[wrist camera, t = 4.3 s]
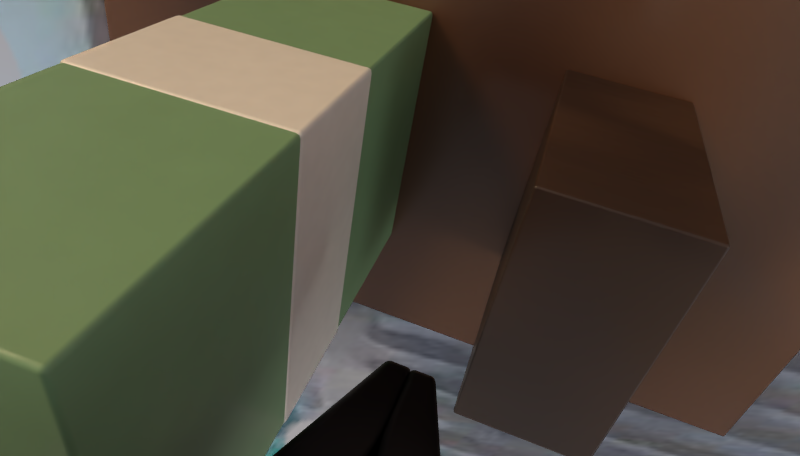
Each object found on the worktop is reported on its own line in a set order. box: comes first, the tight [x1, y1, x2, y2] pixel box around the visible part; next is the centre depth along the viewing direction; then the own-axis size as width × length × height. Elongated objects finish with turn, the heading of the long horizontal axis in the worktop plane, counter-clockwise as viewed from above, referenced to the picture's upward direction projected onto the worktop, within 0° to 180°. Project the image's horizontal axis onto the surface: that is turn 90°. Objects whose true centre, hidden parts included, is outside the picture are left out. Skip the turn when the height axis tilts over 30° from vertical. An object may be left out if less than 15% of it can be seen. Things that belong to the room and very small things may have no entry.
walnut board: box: [104, 0, 800, 456], centre depth 14 cm, size 22×14×7 cm, turn 79°
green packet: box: [0, 0, 433, 456], centre depth 11 cm, size 9×7×12 cm
